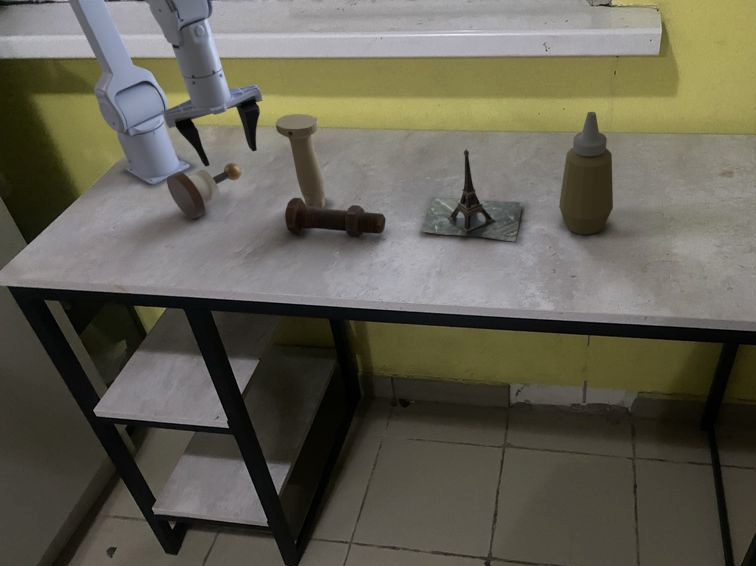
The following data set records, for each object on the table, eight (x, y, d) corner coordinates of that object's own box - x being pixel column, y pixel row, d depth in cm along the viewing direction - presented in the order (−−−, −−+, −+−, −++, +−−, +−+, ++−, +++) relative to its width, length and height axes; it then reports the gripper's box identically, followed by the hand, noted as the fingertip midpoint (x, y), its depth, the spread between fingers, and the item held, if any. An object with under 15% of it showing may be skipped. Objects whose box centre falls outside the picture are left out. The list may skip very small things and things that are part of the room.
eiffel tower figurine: (524, 205, 114) (523, 127, 105) (515, 241, 107) (513, 161, 98) (434, 200, 117) (425, 124, 107) (419, 235, 110) (409, 157, 100)
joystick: (232, 181, 125) (219, 141, 120) (258, 194, 121) (246, 154, 116) (177, 210, 119) (160, 170, 114) (202, 225, 116) (186, 184, 110)
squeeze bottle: (615, 214, 110) (626, 103, 98) (605, 243, 105) (615, 130, 93) (565, 207, 113) (569, 98, 100) (552, 236, 107) (555, 124, 95)
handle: (328, 216, 115) (308, 130, 105) (293, 212, 117) (270, 127, 107) (340, 200, 119) (322, 115, 108) (306, 197, 120) (284, 112, 110)
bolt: (384, 246, 111) (294, 238, 113) (390, 217, 112) (301, 210, 115) (375, 230, 105) (281, 222, 108) (381, 200, 107) (288, 192, 109)
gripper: (158, 93, 97) (191, 181, 106) (258, 65, 102) (281, 151, 111) (146, 77, 101) (179, 162, 111) (243, 51, 106) (266, 135, 116)
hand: (229, 156), depth 111 cm, fingers open, 7 cm apart
